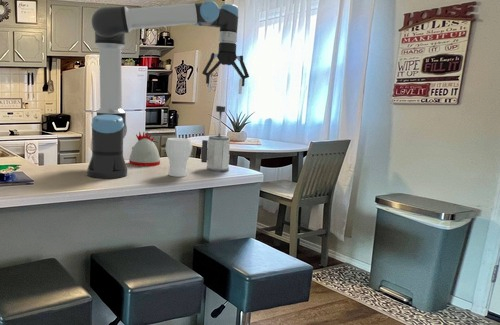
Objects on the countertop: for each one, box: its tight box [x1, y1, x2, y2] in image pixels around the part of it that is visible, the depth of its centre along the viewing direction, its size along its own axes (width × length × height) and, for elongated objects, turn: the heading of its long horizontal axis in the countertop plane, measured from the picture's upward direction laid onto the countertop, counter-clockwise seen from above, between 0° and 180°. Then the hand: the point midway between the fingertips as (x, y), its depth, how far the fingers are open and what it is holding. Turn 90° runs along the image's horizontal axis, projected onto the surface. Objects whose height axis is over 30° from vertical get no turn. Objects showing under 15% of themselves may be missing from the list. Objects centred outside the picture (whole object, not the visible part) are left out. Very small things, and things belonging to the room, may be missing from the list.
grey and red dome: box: [128, 131, 161, 167], centre depth 204 cm, size 14×14×15 cm
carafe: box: [200, 135, 231, 173], centre depth 201 cm, size 12×10×15 cm
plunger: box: [215, 105, 226, 137], centre depth 199 cm, size 6×6×19 cm
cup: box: [165, 137, 193, 178], centre depth 183 cm, size 11×11×15 cm
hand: (224, 92), depth 193 cm, fingers open, 13 cm apart
